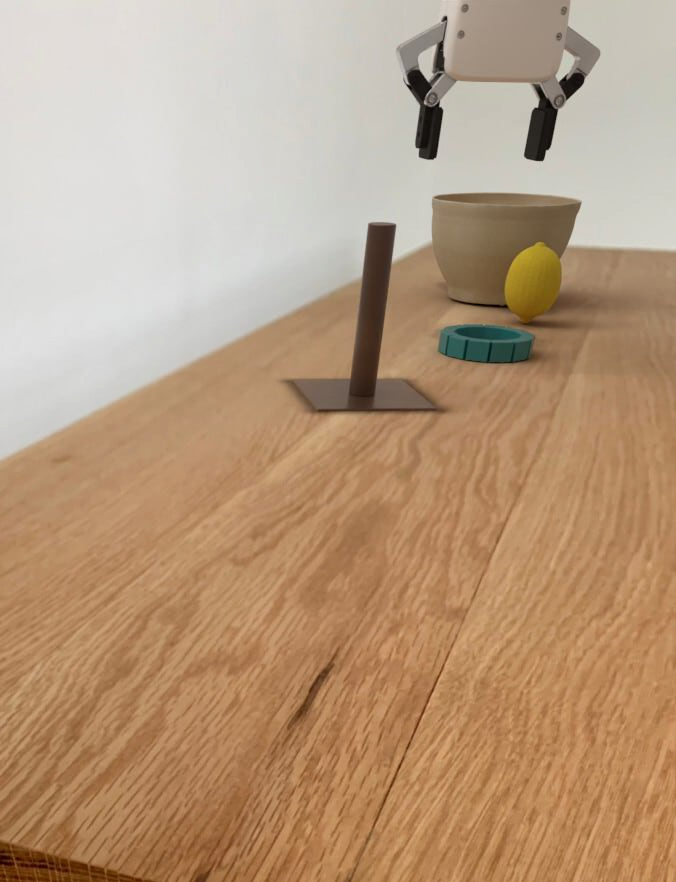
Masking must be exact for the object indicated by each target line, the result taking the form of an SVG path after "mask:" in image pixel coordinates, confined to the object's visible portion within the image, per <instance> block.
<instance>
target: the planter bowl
mask: <svg viewBox="0 0 676 882" xmlns="http://www.w3.org/2000/svg"><path fill="white" fill-rule="evenodd" d="M582 203H583V201H582V200H581V199H579V198H574V197H568V196H563V195H553V194H542V193H541V194H540V193H526V192H525V193H524V192H523V193H522V192H496V191H495V192H492V191H491V192H489V191H488V192H486V191H485V192H483V191H482V192H456V193H443V194H441V193H440V194H436V195H433V196H432V198H431V208H432V216H431V241H432V248H433V253H434V256H435V261H436V264H437V266H438V268H439V271H440V273H441V276H442V278H443V279H444V280H445V282H446V284H447V296H448V298H450V299H452V300H454V301H458V302H462V303H463V302H464V303H468V304H469V303H471V304H480V305H482V304H483V305H495V306H497V305H498V306H500V307H504V306H508V305H507V303H506V299H505V282H506V278H507V274H508V271H509V269H510V266H511V264H512V262H513V261H514V259H515V258H516V257H517V256H518V255H519V254H520V253H521V252H522V251H524V250H525V249H527V248H529V247H532V246H534V245H535V244H536V243H538V242H543V243H544V244H545V245H546V247H548V248H550V249H551V250H553V251H554V252H555V253H556V254H557V256H558V257H559V259H560V260H561V258H562V257H563V254H564V253H565V251H566V249H567V248H568V244H569V242H570V240H571V237H572V234H573V232H574V228H575V223H576V219H577V216H578V214H579V213H580V209H581V206H582Z"/></svg>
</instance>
